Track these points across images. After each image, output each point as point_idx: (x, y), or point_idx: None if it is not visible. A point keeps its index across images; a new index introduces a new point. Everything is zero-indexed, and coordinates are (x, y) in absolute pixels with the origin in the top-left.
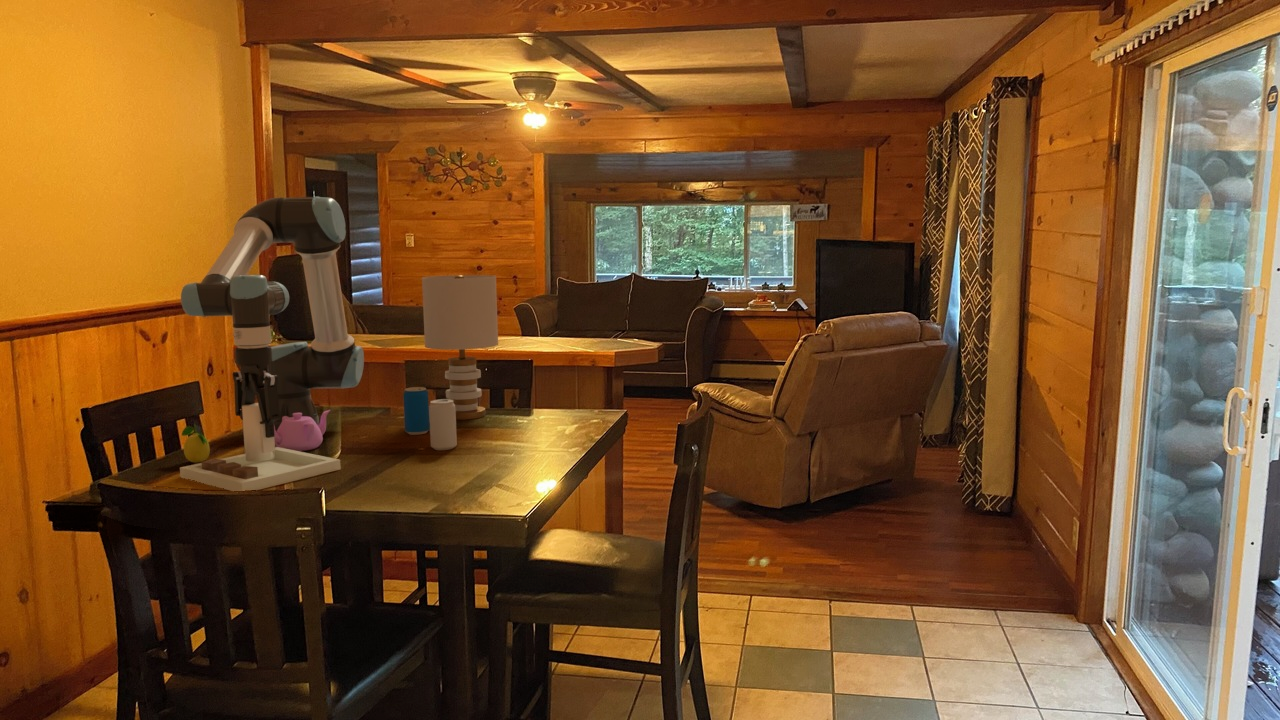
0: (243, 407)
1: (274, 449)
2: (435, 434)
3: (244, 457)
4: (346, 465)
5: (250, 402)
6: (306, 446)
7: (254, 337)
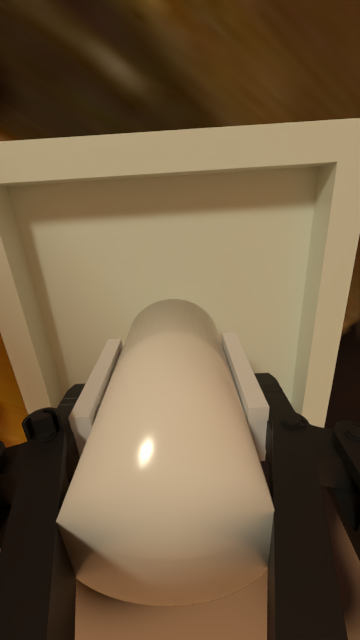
0: (165, 601)
1: (235, 336)
2: None
3: (25, 309)
4: (279, 28)
5: (65, 561)
6: None
7: None
